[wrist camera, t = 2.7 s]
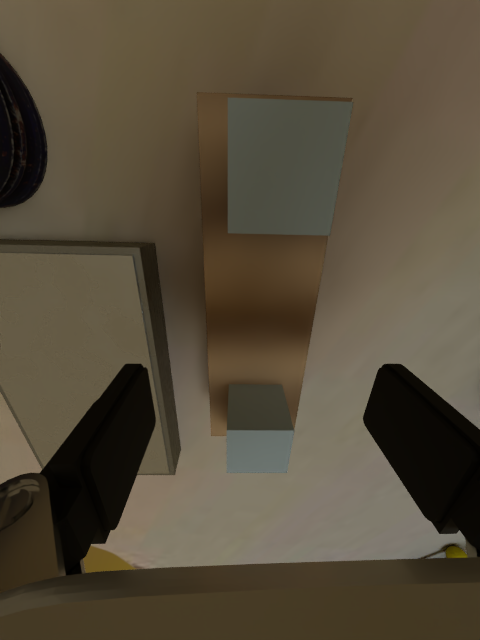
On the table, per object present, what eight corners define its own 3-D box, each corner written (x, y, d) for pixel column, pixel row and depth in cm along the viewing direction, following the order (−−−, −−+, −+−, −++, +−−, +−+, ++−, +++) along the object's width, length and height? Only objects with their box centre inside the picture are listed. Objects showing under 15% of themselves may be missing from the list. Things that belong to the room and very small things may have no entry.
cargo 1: (314, 140, 11) (353, 101, 7) (302, 230, 12) (329, 235, 9) (230, 137, 11) (227, 97, 7) (230, 228, 12) (227, 233, 9)
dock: (154, 242, 18) (138, 248, 15) (180, 449, 28) (174, 476, 25) (-30, 238, 17) (-83, 242, 14) (64, 449, 27) (44, 476, 24)
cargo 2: (282, 384, 17) (294, 430, 13) (277, 422, 19) (286, 472, 15) (228, 384, 17) (226, 430, 13) (228, 422, 19) (226, 472, 15)
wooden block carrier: (210, 133, 15) (196, 92, 10) (314, 137, 15) (352, 97, 10) (216, 390, 24) (211, 435, 19) (281, 391, 24) (293, 436, 19)
